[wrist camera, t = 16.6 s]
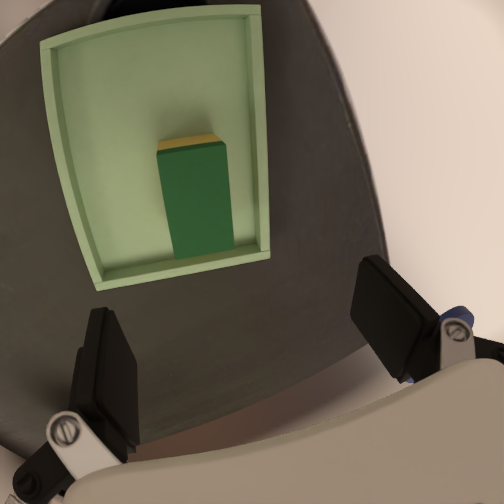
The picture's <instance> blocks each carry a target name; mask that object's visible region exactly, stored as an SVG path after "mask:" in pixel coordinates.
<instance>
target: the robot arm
mask: <svg viewBox="0 0 504 504" xmlns="http://www.w3.org/2000/svg"><path fill="white" fill-rule="evenodd" d="M350 316H351V319H352V321H353V322H354V324H355V325H356V326H357V328H358V329H359V331H360V332H361V333H362V335H363V336H364V338H365V339H366V340H367V342H368V343H369V345H370V346H371V347H372V349H373V350H374V351H375V353H376V355H377V356H378V358H379V359H380V360H381V362H382V363H383V365H384V366H385V368H386V369H387V370H388V372H389V373H390V375H391V376H392V377H393V378H396V379H397V380H398V382H399V383H400V384H401V383H403V382H405V381H407V380H409V379H410V378H412V379H413V381H414V384H413V385H411V386H409V387H406V388H404V389H402V390H400V391H398V392H396V393H394V394H392V395H389V396H387V397H385V398H383V399H381V400H378V401H376V402H374V403H371V404H369V405H366V406H364V407H361V408H359V409H357V410H354V411H351V412H349V413H346V414H344V415H341V416H338V417H336V418H333V419H330V420H327V421H324V422H321V423H318V424H315V425H312V426H310V427H306V428H303V429H300V430H297V431H293V432H290V433H286V434H283V435H280V436H276V437H272V438H269V439H264V440H261V441H257V442H252V443H248V444H244V445H239V446H235V447H230V448H226V449H220V450H215V451H209V452H203V453H198V454H191V455H185V456H179V457H171V458H163V459H154V460H148V461H139V462H131V463H127V462H126V461H127V459H128V456H127V454H129V453H136V445H139V444H140V437H139V420H138V391H137V362H136V359H135V357H134V355H133V353H132V351H131V349H130V346H129V344H128V342H127V340H126V338H125V336H124V334H123V331H122V329H121V327H120V325H119V322H118V320H117V318H116V315H115V313H114V311H113V310H109V309H108V308H107V307H102V308H95V309H92V310H91V312H90V317H89V321H88V326H87V331H86V336H85V341H84V346H83V347H80V348H79V349H78V352H77V357H76V362H75V368H74V374H73V380H72V387H71V394H70V402H69V410H68V411H62V412H59V413H57V414H55V415H54V416H53V417H52V418H51V419H50V421H49V423H48V424H47V428H46V436H47V439H48V441H47V442H46V443H45V444H44V445H43V446H42V447H41V448H40V449H38V450H37V451H36V452H35V453H34V454H33V455H32V456H31V457H30V458H29V459H28V460H27V461H26V462H25V463H24V464H23V465H21V467H19V468H18V469H17V471H16V472H15V474H14V477H13V489H14V491H15V492H14V495H9V496H8V499H7V500H6V502H5V504H504V344H503V343H499V342H495V341H491V340H487V339H483V338H479V337H476V336H473V331H472V329H471V327H470V326H469V325H468V324H467V323H466V322H465V321H463V320H461V319H458V318H447V319H445V320H444V321H443V322H442V323H441V322H440V321H439V319H440V316H439V315H438V313H437V312H435V310H434V309H433V308H432V307H431V306H430V305H429V304H428V303H427V302H426V301H425V300H424V299H423V298H422V297H421V296H420V295H419V294H418V293H417V292H416V291H415V290H414V289H413V288H412V287H411V286H410V285H409V284H408V283H407V282H406V281H405V280H404V279H403V278H402V277H401V276H400V275H399V274H398V273H397V272H396V271H395V270H394V269H393V268H392V267H391V266H390V265H389V264H388V263H387V262H386V261H384V260H383V259H382V258H381V257H380V256H379V255H377V254H375V255H371V256H367V257H364V258H363V259H362V261H361V262H360V263H359V268H358V274H357V280H356V285H355V291H354V296H353V301H352V306H351V311H350Z"/></svg>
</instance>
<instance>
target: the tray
mask: <svg viewBox="0 0 504 504" xmlns="http://www.w3.org/2000/svg"><path fill="white" fill-rule="evenodd" d="M40 58H41V71H42V82H43V91H44V99H45V106H46V113H47V119H48V125H49V131H50V136H51V142H52V147H53V151H54V156H55V161H56V165H57V169H58V174H59V178H60V182H61V185H62V189H63V193H64V197H65V200H66V204H67V207H68V211H69V214H70V217H71V221H72V224H73V227H74V230H75V233H76V236H77V239H78V242H79V245H80V248H81V251H82V253H83V256H84V259H85V262H86V264H87V267H88V270H89V272H90V275H91V277H92V280H93V282H94V285H95V287H96V290H97V291H100V290H105V289H110V288H116V287H121V286H127V285H132V284H138V283H143V282H148V281H154V280H159V279H164V278H170V277H175V276H180V275H185V274H191V273H196V272H201V271H206V270H212V269H217V268H222V267H227V266H232V265H237V264H243V263H248V262H253V261H258V260H263V259H268V258H270V226H269V188H268V156H267V128H266V103H265V80H264V59H263V39H262V21H261V5H250V4H230V5H205V6H191V7H181V8H172V9H164V10H157V11H151V12H144V13H139V14H134V15H128V16H124V17H119V18H115V19H110V20H106V21H102V22H98V23H95V24H91V25H87V26H84V27H80V28H77V29H74V30H71V31H68V32H65V33H62V34H59V35H56V36H53V37H51V38H48V39H45V40H43V41H40ZM210 133H214V134H215V135H216V136H217V137H219V138H220V139H221V140H222V141H223V142H224V143H225V144H226V147H227V160H228V172H229V185H230V197H231V208H232V220H233V231H234V242H235V249H232V250H227V251H222V252H216V253H211V254H206V255H200V256H195V257H190V258H184V259H179V260H175V256H174V251H173V246H172V241H171V236H170V231H169V226H168V221H167V216H166V211H165V205H164V200H163V194H162V188H161V182H160V176H159V170H158V164H157V157H156V154H157V147H158V142H159V141H164V140H170V139H176V138H182V137H188V136H195V135H202V134H210Z"/></svg>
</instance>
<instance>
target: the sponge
mask: <svg viewBox="0 0 504 504" xmlns="http://www.w3.org/2000/svg"><path fill="white" fill-rule="evenodd" d="M156 157H157V164H158V170H159V176H160V182H161V188H162V194H163V200H164V205H165V211H166V216H167V221H168V226H169V231H170V236H171V241H172V246H173V251H174V256H175V260H179V259H184V258H190V257H195V256H200V255H206V254H211V253H216V252H222V251H227V250H232V249H235V242H234V231H233V220H232V208H231V197H230V185H229V172H228V160H227V147H226V144H225V143H224V142H223V141H222V140H221V139H220V138H219V137H217V136H216V135H215V134H214V133H210V134H202V135H195V136H188V137H182V138H176V139H170V140H164V141H159V142H158V147H157V154H156Z"/></svg>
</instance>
